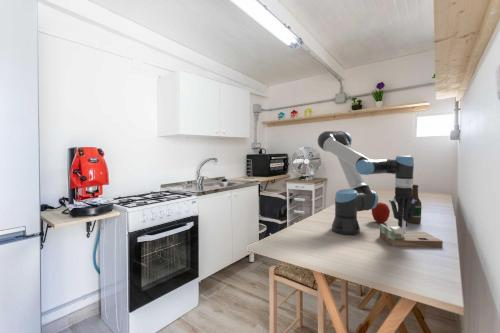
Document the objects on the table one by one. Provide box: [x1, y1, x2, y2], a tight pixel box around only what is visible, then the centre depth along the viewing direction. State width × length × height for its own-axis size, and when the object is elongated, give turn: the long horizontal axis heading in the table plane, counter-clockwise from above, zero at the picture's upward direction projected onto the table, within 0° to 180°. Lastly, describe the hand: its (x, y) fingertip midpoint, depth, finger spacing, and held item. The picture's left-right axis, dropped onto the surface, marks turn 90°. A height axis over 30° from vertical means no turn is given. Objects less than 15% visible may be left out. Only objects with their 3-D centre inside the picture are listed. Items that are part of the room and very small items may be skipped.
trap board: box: [379, 223, 444, 248], centre depth 122 cm, size 13×23×7 cm, turn 86°
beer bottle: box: [407, 184, 423, 225], centre depth 153 cm, size 8×8×24 cm
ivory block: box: [389, 226, 404, 237], centre depth 122 cm, size 4×4×4 cm
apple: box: [371, 201, 391, 224], centre depth 154 cm, size 10×10×14 cm
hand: (402, 232), depth 122 cm, fingers closed
